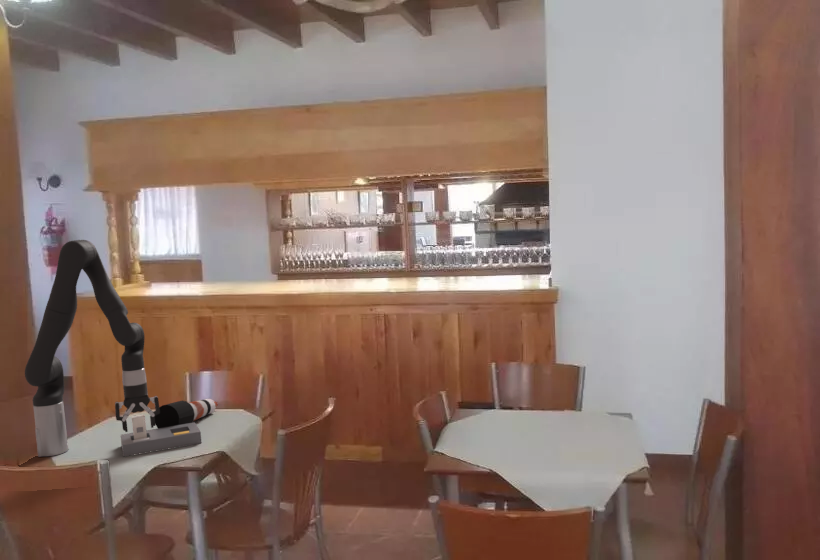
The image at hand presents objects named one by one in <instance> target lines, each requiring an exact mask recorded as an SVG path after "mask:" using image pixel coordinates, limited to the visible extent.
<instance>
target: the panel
mask: <svg viewBox="0 0 820 560" xmlns="http://www.w3.org/2000/svg"><path fill="white" fill-rule="evenodd" d="M146 433H147V438H143V439H137V440H134V435H133V432H129V433H128V432H127V433H123V434H120V442H121V450H122V455H123V456H122V457H124V456H127V457H130V456H129V455H132V456H135V455H134V454H138V455H140V454H139V453H143V454H146V453H145V452H149V453H151V452H150V451H155V452H157V451H156V450H160V451H163V450H162V449H166V450H169V449H168V448H171V449H175V448H174V447H177V448H180V447H179V446H182V447H187V446H186V445H188V446H192V445H193V446H194V445H197V444H198V445H199V444H202V443H203V442H202V434H201V433H202V432H201V430H200V428H199V426H198V425H197V423H196V422H195V421H193V422H192V423H188V424H182V425H176V426H170V427H164V428H151V429H146Z"/></svg>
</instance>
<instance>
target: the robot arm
mask: <svg viewBox="0 0 820 560" xmlns="http://www.w3.org/2000/svg"><path fill="white" fill-rule="evenodd" d="M82 271H83V272H84V273H85V274H86V275H87V277H88V279H89V281H90V283H91V286H92V289H93V294H94V297H95V300H96V302H97V305H98V306H99V308H100V310H101V312H102V313H103V315H104V316H105V317H106V319H107V321H108V325H109V327H110V330H111V334H112V336H113V338H114V339H115V340H116V341H117V343H119V344H120V345H121V346H124V351H123V353H122V354H121V358H120V359H121V369H122V374H121V375H122V376H121V377H122V379H121V380H122V386H123V387H122V389H123V397H124V399H123V401H119V402H118V401H115V402H114V409H115V420H116V421H117V422H118V421H120V422H121V423H122V430H123V431H125V433H128V423H127V419H128V418H129V416H131V415H130V414H131V413H133V414H134V413H135V414H136V413H141V412H144V411H146V413H148V415H149V420H150V422H149V423H150V428H151V429H155V428H154V426H156V424H155V415H157V414H160V408H159V407H160V402H159V397H158V396H157V395H154V396H153V397H152V396H151V397H149V393H148V391H149V390H148V381H147V373H146V369H145V360H144V349H145V340H146V339H145V331H144V328H143V326H141V324H139V323H137V322H131V321H130V320H129V318H128V316H127V315H128V313H129V310H128V307H126V305H125V303H124V301H123V300H122V298H121V297H120V295H119V294H118V292H117V291H116V289H115V287H114V285H113V283H112V282H111V279H110V277H109V275H108V273H107V271H106V269H105V267H104V264H103V262H102V259H101V256H100V254H99V251H98V250H97V248H96V246H95V245H94V243H92V242H91V241H89V240H86V239H77V240H69V241H67V242H66V243H65V244H63V246H62V247H61V249H60V252H59V256H58V261H57V266H56V270H55V278H54V281H53V284H52V286H51V290H50V294H49V296H48V301H47V302H46V305H45V309H44V313H43V317H42V320H41V324H40V326H39V327H40V328H39V330H38V332H37V333H38V334H37V336H36V341H35V343H34V346H33V349H32V350H31V353H30V355H29V358H28V360H27V363H26V365H25V368H24V377H25V380H26V382H27V384H29V385H30V386H33V387H37V390H36V393H35V394H34V395H33V397H32V407H33V416H34V424H35V430H34V431H35V439H36V450H37V457H39V458H40V457H51V456H52V457H53V456H58V455H61V454H64V453H67V451H69V443H68V434H67V433H68V432H67V426H66V425H67V424H66V415H65V407H64V393H65V380H64V378H65V377H64V375H65V374H64V367H63V364H62V362H61V360H60V359H59V357H57V356H55V355H56V353H57V351H58V348H59V346H60V344H61V343H62V341H64V339H65V338H66V336H67V334H68V333H69V331H70V329H71V327H72V325H73V323H74V319H75V316H76V312H77V309H78V295H77V285H78V281H79V277H80V275H81V272H82ZM150 403H152V404H154V408H155V409H154V411H153V410H152V409H151V408H150V407H149V406H148V405H149V404H150ZM122 406H124V407H125V408H126V410H125V411H124V413H123V415H122V416H121V415H120V413H121V412H120V410H121V409H122V408H123V407H122Z"/></svg>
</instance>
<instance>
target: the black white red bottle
mask: <svg viewBox="0 0 820 560" xmlns="http://www.w3.org/2000/svg"><path fill="white" fill-rule="evenodd" d="M218 405H219V404H218V401H215V400H213V399H211V398H206V399H201V400H194V401H186V400H178V401H174V402H170V403H167V404H162V405H161V406H159V408H160V414H157V415H155V426H156V429H158V428H164V427H170V426H176V425H182V424H188V423H194V422H195V421H197V420H199V419H200V418H203V417H206V416H208V415H210V414H213V413H214V412H215V410H216V407H217V406H218Z"/></svg>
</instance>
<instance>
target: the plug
mask: <svg viewBox="0 0 820 560" xmlns="http://www.w3.org/2000/svg"><path fill="white" fill-rule="evenodd" d="M131 423H132V433H133V435H134V440H137V439H143V438H147V433H146V430H147V424H146V423H147V422H146V416H145V414H138V415H132V416H131Z"/></svg>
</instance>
